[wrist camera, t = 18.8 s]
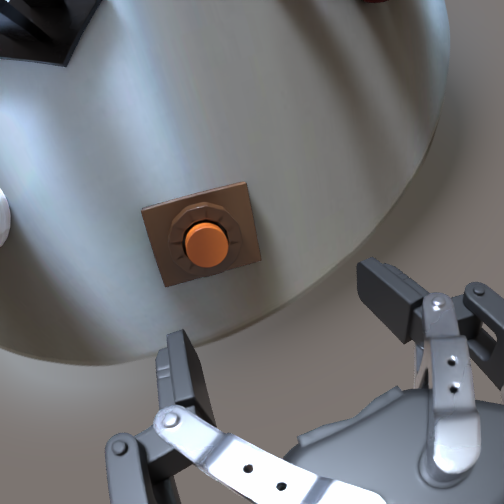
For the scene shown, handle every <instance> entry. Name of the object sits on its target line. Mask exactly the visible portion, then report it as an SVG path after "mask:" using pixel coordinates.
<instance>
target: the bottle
mask: <svg viewBox="0 0 504 504" xmlns="http://www.w3.org/2000/svg"><path fill="white" fill-rule="evenodd" d="M10 218H11V214H10V209H9V205H8V201H7V199H6V197H5V195H4V193H3V191H2V190H1V189H0V247H1V246H2V245H3V243H4V242H5V240H6V239H7V237H8V233H9V230H10Z"/></svg>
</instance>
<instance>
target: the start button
mask: <svg viewBox="0 0 504 504" xmlns="http://www.w3.org/2000/svg"><path fill="white" fill-rule="evenodd" d="M185 245H186V252H187V255H188V257H189V259H190V260H191V261H192V262H193V263H194V264H195V265H197V266H200V267H206V268H208V267H213V266H216V265H218V264H219V263H221V262H222V261H223V260H224V258H225V257H226V255H227V253H228V241H227V238H226V236H225V234H224V233H223V231H222V230H221V228H220V227H218V226H217V225H215V224H213V223H209V222H203V223H199V224H197V225H195V226H193V227H192V228H191V229H190V230H189V232H188V233H187V235H186V239H185Z"/></svg>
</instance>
